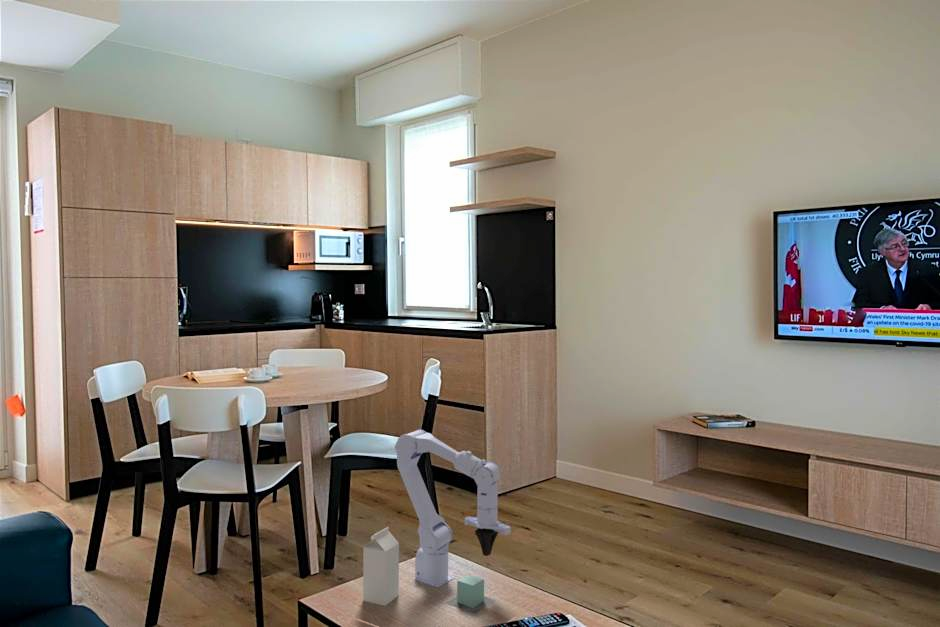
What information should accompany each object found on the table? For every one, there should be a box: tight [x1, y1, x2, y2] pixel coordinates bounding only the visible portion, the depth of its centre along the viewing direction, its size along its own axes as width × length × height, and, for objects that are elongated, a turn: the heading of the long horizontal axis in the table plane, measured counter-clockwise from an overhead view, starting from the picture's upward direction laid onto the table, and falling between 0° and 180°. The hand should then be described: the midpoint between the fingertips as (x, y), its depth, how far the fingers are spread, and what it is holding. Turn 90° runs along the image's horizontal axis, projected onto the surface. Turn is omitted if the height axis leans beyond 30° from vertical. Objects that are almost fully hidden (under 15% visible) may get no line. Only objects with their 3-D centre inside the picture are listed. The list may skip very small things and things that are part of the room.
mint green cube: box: [456, 574, 485, 608], centre depth 185 cm, size 5×5×6 cm
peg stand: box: [445, 595, 497, 614], centre depth 185 cm, size 10×10×5 cm
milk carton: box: [362, 526, 400, 606], centre depth 186 cm, size 7×7×19 cm
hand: (486, 554), depth 192 cm, fingers closed
